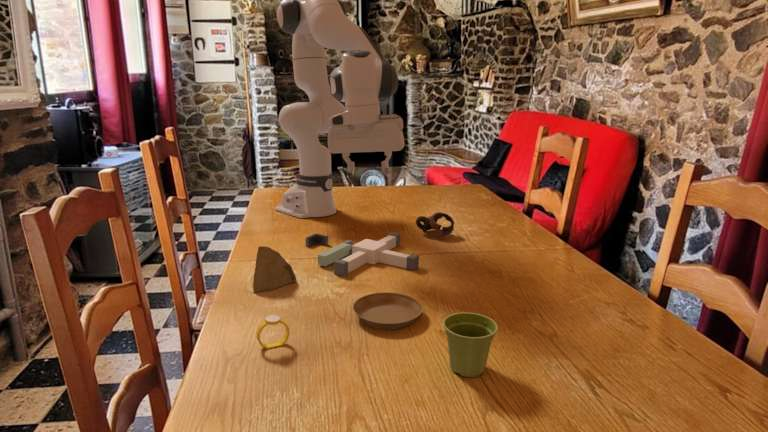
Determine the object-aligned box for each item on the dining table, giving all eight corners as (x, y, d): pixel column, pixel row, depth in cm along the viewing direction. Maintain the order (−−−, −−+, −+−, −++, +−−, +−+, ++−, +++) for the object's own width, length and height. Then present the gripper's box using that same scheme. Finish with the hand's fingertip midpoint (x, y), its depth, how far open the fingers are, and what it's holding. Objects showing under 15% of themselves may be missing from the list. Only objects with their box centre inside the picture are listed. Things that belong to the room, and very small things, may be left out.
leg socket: (305, 246, 152) (305, 237, 151) (316, 241, 156) (315, 233, 156) (318, 249, 150) (317, 240, 149) (328, 244, 154) (328, 236, 153)
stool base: (321, 270, 135) (321, 256, 133) (380, 240, 158) (380, 227, 157) (387, 288, 125) (387, 272, 124) (439, 252, 148) (440, 239, 147)
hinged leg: (347, 250, 149) (347, 239, 148) (354, 251, 148) (354, 241, 147) (318, 264, 137) (317, 253, 137) (325, 266, 136) (325, 255, 135)
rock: (299, 266, 131) (259, 261, 130) (300, 248, 124) (258, 242, 124) (293, 304, 125) (251, 300, 124) (293, 287, 118) (249, 282, 117)
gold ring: (286, 341, 101) (287, 313, 100) (290, 347, 99) (291, 319, 97) (255, 345, 98) (256, 316, 97) (258, 352, 96) (259, 323, 95)
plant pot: (436, 354, 96) (438, 312, 94) (485, 353, 97) (489, 311, 95) (446, 384, 87) (448, 338, 85) (500, 382, 88) (504, 337, 86)
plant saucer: (370, 297, 120) (370, 287, 119) (430, 309, 115) (431, 298, 114) (340, 326, 107) (340, 314, 106) (408, 341, 101) (408, 329, 101)
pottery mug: (447, 230, 170) (456, 213, 165) (447, 251, 163) (456, 234, 158) (412, 221, 169) (420, 203, 163) (411, 242, 162) (419, 224, 156)
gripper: (405, 112, 134) (409, 165, 137) (331, 116, 139) (337, 167, 143) (399, 115, 128) (403, 170, 132) (322, 119, 134) (328, 172, 137)
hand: (368, 168), depth 137 cm, fingers open, 8 cm apart
